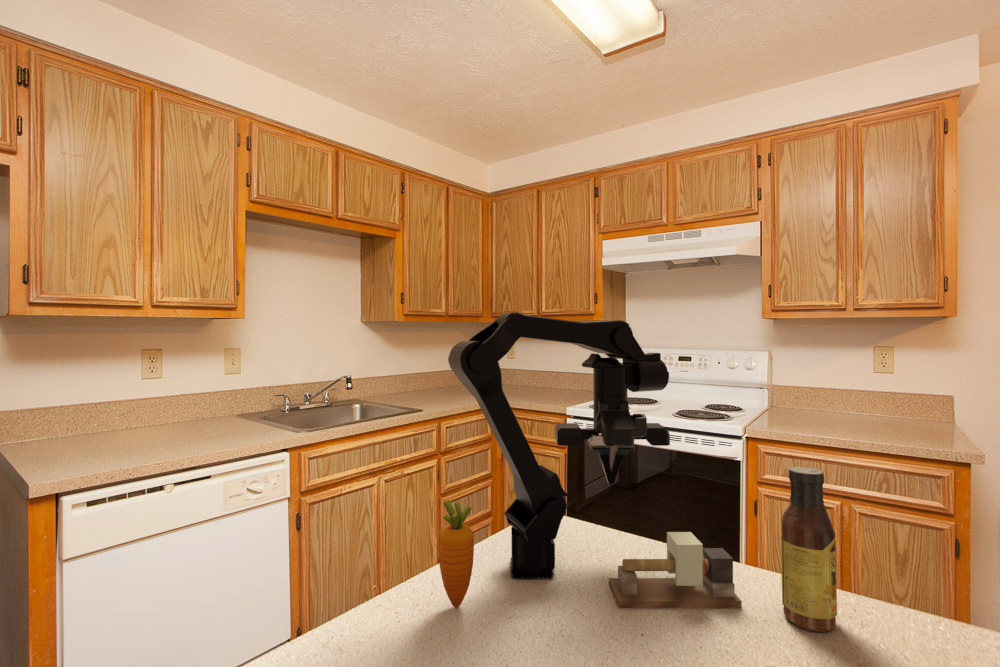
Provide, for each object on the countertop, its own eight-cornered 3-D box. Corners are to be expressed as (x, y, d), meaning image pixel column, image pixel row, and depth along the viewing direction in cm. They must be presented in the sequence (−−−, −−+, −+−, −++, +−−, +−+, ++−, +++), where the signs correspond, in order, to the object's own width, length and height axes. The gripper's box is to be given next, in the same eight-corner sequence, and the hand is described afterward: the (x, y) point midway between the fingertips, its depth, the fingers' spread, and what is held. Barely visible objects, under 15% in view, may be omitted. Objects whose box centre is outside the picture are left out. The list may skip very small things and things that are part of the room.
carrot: (481, 607, 70) (481, 500, 70) (455, 622, 66) (454, 509, 66) (457, 594, 73) (457, 492, 73) (431, 608, 70) (430, 500, 70)
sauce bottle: (846, 637, 63) (846, 479, 62) (791, 631, 64) (791, 476, 64) (823, 608, 69) (823, 465, 69) (774, 604, 70) (774, 463, 70)
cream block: (677, 585, 70) (677, 544, 70) (666, 570, 75) (666, 532, 75) (702, 585, 70) (702, 544, 70) (691, 570, 75) (691, 531, 75)
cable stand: (618, 608, 69) (618, 563, 69) (608, 584, 76) (608, 543, 76) (741, 608, 69) (741, 563, 69) (721, 584, 76) (721, 543, 76)
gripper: (560, 400, 78) (561, 499, 78) (681, 400, 78) (681, 500, 78) (554, 391, 89) (554, 478, 90) (659, 391, 89) (659, 478, 89)
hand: (610, 484), depth 86 cm, fingers closed
